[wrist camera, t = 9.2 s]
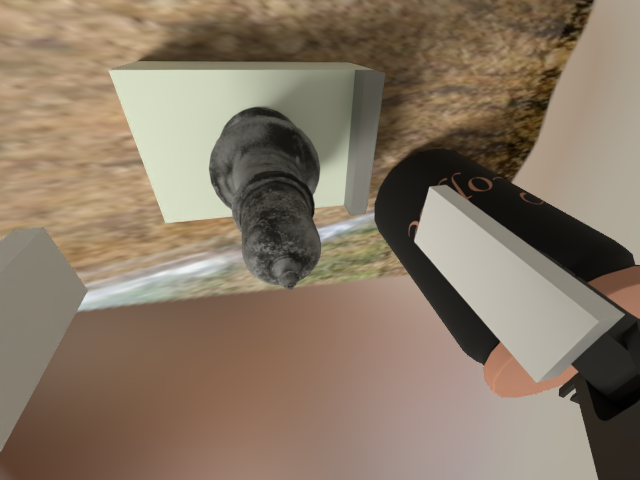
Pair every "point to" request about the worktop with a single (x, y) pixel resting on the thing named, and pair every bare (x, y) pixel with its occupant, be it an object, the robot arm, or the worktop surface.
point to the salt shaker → (269, 193)
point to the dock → (240, 94)
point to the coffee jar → (522, 220)
